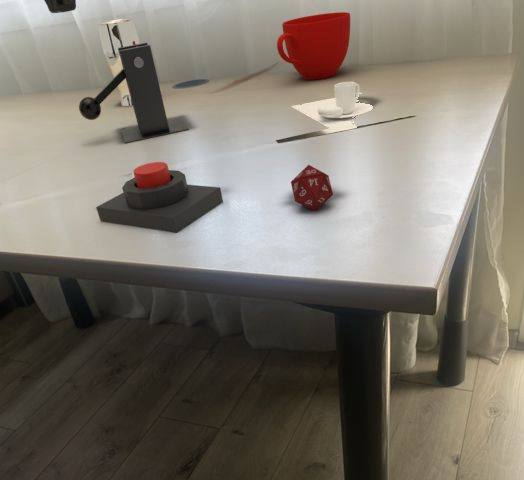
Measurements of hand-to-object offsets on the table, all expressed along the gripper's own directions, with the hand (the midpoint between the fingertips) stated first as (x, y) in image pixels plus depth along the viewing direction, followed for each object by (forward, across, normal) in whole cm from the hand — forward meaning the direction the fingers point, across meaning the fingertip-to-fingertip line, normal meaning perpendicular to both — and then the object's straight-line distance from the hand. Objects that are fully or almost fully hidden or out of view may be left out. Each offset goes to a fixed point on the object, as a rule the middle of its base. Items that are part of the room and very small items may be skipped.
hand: (63, 11), depth 51 cm
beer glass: (+20, -36, +41) cm, 58 cm away
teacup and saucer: (+19, +8, +37) cm, 43 cm away
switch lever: (+13, -18, +21) cm, 31 cm away
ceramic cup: (+20, -8, +63) cm, 66 cm away
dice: (+19, +23, +4) cm, 30 cm away
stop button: (+16, +7, -1) cm, 17 cm away
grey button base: (+19, +7, -1) cm, 20 cm away
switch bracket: (+20, -16, +24) cm, 35 cm away
